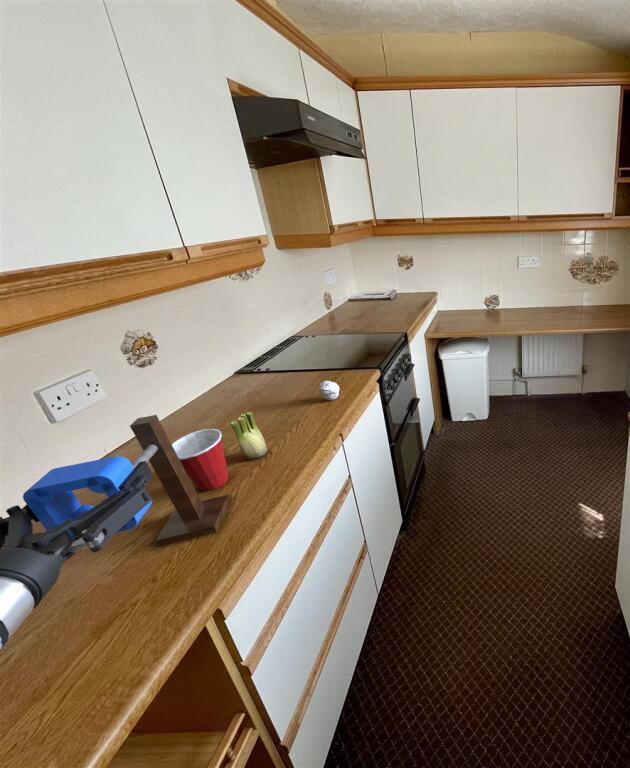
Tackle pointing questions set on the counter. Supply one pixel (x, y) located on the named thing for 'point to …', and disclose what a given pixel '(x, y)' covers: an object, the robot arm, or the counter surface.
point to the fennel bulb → (249, 437)
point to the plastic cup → (203, 458)
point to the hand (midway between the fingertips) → (105, 476)
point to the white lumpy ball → (329, 390)
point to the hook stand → (176, 486)
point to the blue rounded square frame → (55, 489)
